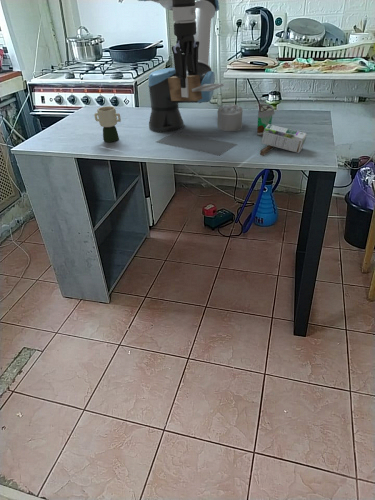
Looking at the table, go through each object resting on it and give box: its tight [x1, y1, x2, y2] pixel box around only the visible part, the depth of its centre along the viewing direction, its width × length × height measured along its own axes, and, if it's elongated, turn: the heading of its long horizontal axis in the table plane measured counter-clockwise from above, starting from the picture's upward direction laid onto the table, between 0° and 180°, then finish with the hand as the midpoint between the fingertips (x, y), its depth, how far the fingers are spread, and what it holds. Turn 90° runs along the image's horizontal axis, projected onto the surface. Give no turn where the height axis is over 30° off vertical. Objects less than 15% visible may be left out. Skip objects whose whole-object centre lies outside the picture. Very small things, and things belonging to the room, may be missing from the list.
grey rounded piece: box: [216, 103, 244, 132], centre depth 162 cm, size 10×13×9 cm
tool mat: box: [155, 131, 238, 156], centre depth 149 cm, size 30×13×1 cm, turn 55°
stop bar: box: [259, 145, 275, 156], centre depth 140 cm, size 1×12×2 cm, turn 144°
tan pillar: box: [168, 75, 224, 101], centre depth 137 cm, size 20×8×8 cm, turn 55°
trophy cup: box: [93, 105, 122, 143], centre depth 153 cm, size 11×7×13 cm, turn 77°
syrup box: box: [261, 124, 307, 154], centre depth 139 cm, size 6×6×14 cm
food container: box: [256, 103, 275, 137], centre depth 153 cm, size 12×6×10 cm, turn 168°
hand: (188, 95), depth 140 cm, fingers closed on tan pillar, 3 cm apart
